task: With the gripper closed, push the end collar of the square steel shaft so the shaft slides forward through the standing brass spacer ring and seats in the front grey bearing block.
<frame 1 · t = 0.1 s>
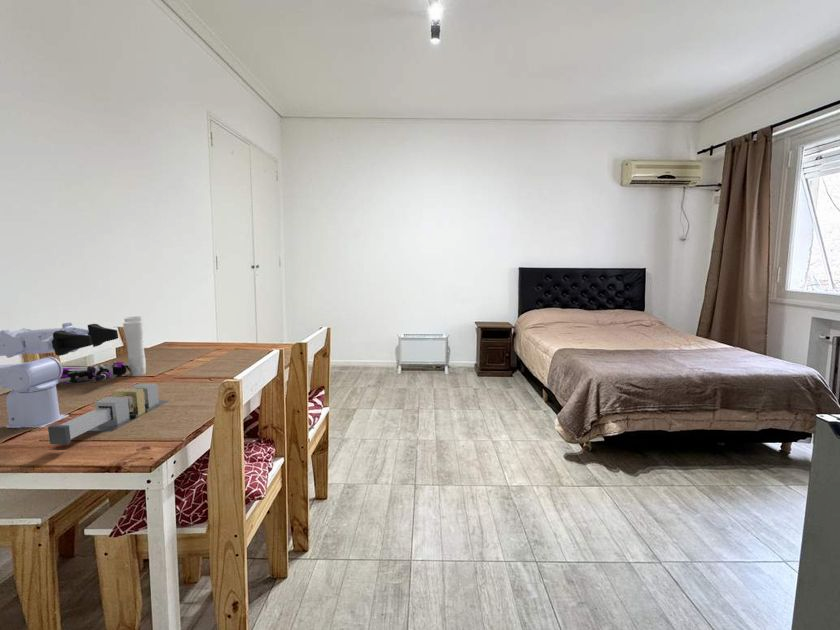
hand: (104, 337, 105), 22 cm above the table, fingers open, 7 cm apart
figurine: (81, 383, 143), on the table
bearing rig: (130, 416, 114), on the table
shaft: (94, 418, 102), point 4 cm above the table, slide at 8.0 cm
spacer: (130, 414, 114), point 1 cm above the table, touching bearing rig
white plastic bottle: (138, 370, 157), on the table
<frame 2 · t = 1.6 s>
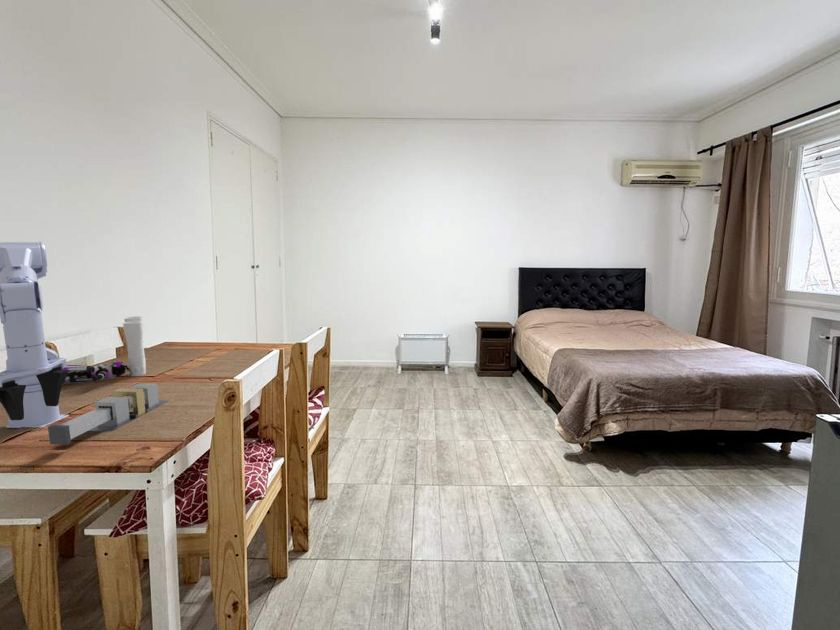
hand: (35, 412, 88), 10 cm above the table, fingers open, 7 cm apart
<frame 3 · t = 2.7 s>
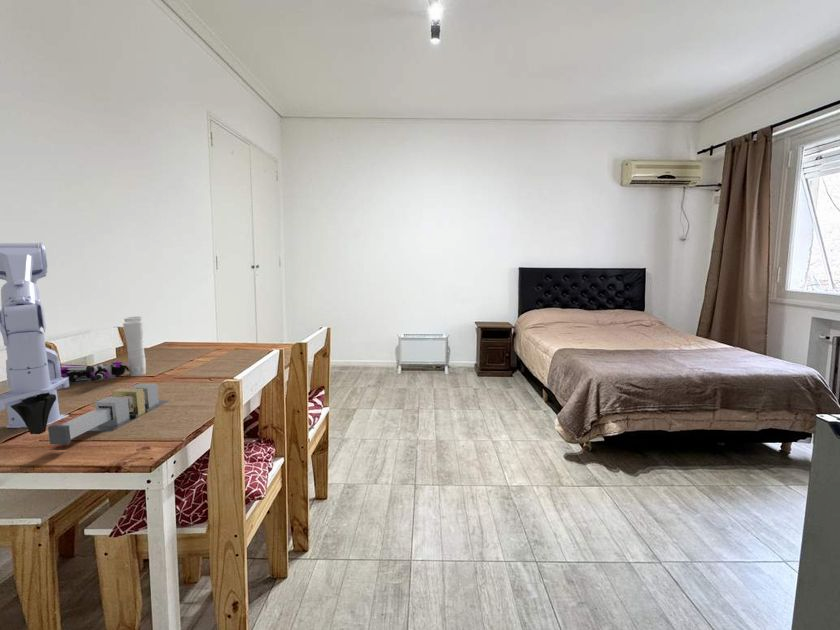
hand: (38, 432, 89), 6 cm above the table, fingers closed
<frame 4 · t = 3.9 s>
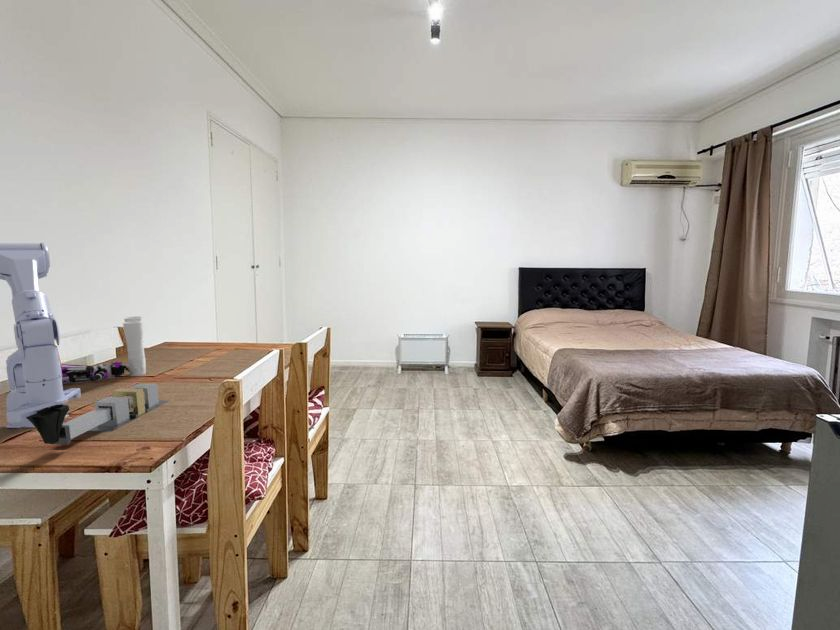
hand: (51, 442, 92), 3 cm above the table, fingers closed
shaft: (94, 418, 103), point 4 cm above the table, slide at 8.0 cm, touching gripper
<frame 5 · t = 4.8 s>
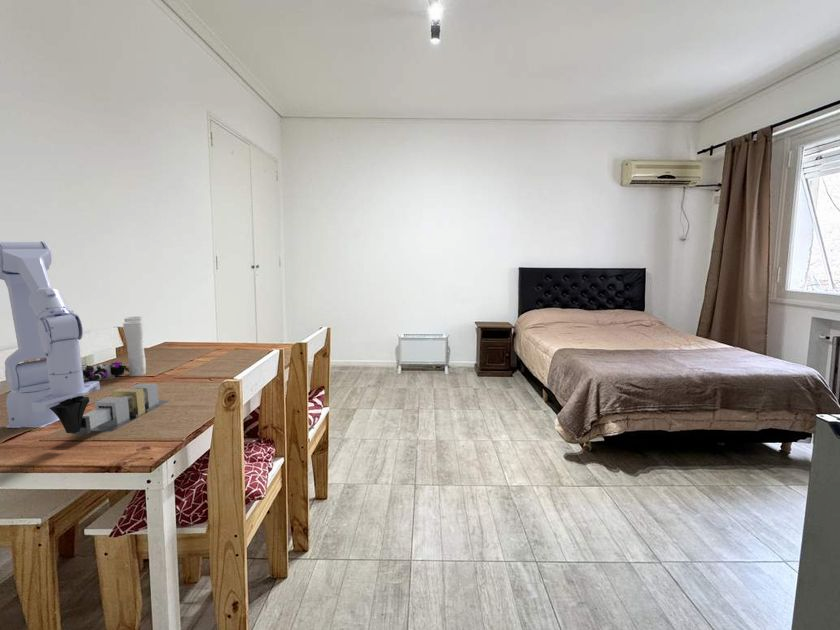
hand: (73, 432, 97), 3 cm above the table, fingers closed
shaft: (111, 410, 108), point 4 cm above the table, slide at 2.8 cm, touching gripper
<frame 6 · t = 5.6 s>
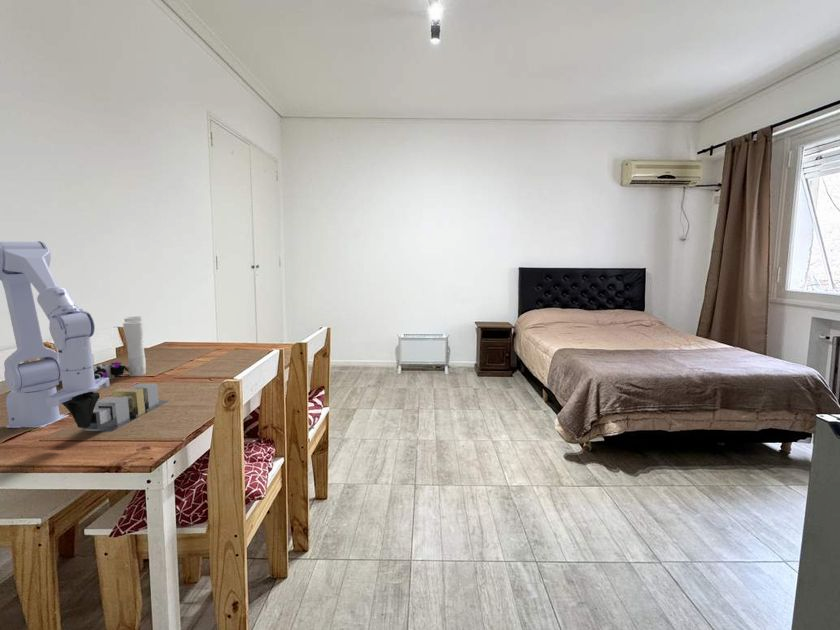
hand: (84, 426, 100), 3 cm above the table, fingers closed
shaft: (120, 406, 110), point 4 cm above the table, slide at 0.0 cm, touching gripper
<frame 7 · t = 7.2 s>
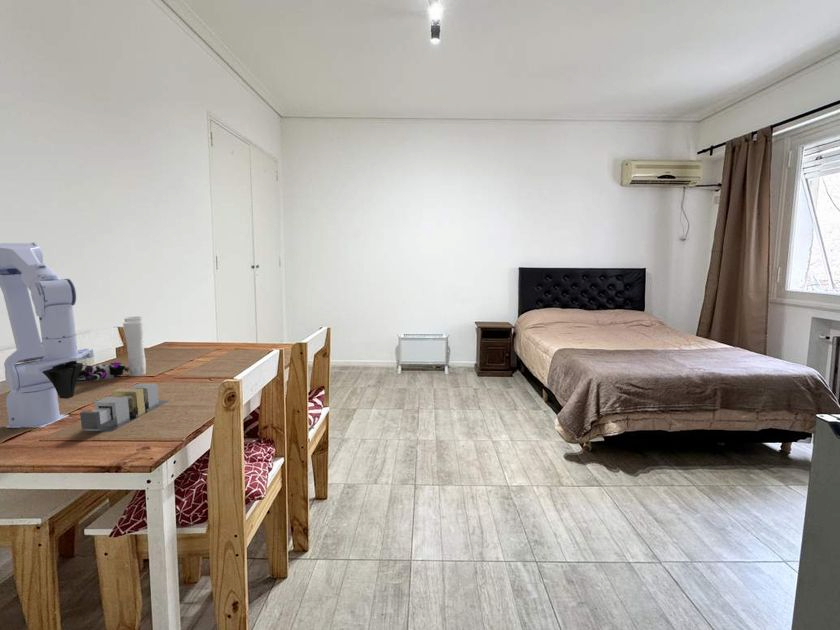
hand: (66, 397, 98), 10 cm above the table, fingers closed
shaft: (120, 406, 110), point 4 cm above the table, slide at 0.0 cm
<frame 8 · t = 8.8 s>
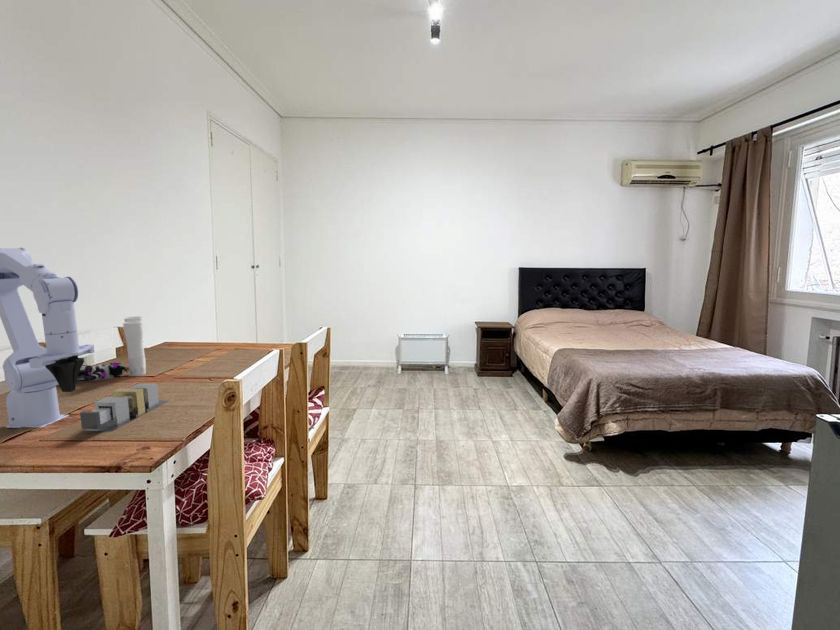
hand: (68, 391, 101), 10 cm above the table, fingers closed
at the end: shaft slide at 0.0 cm; spacer tilted 0°; spacer 0.0 cm off-centre on the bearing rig, point 0.6 cm above the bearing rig's base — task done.
